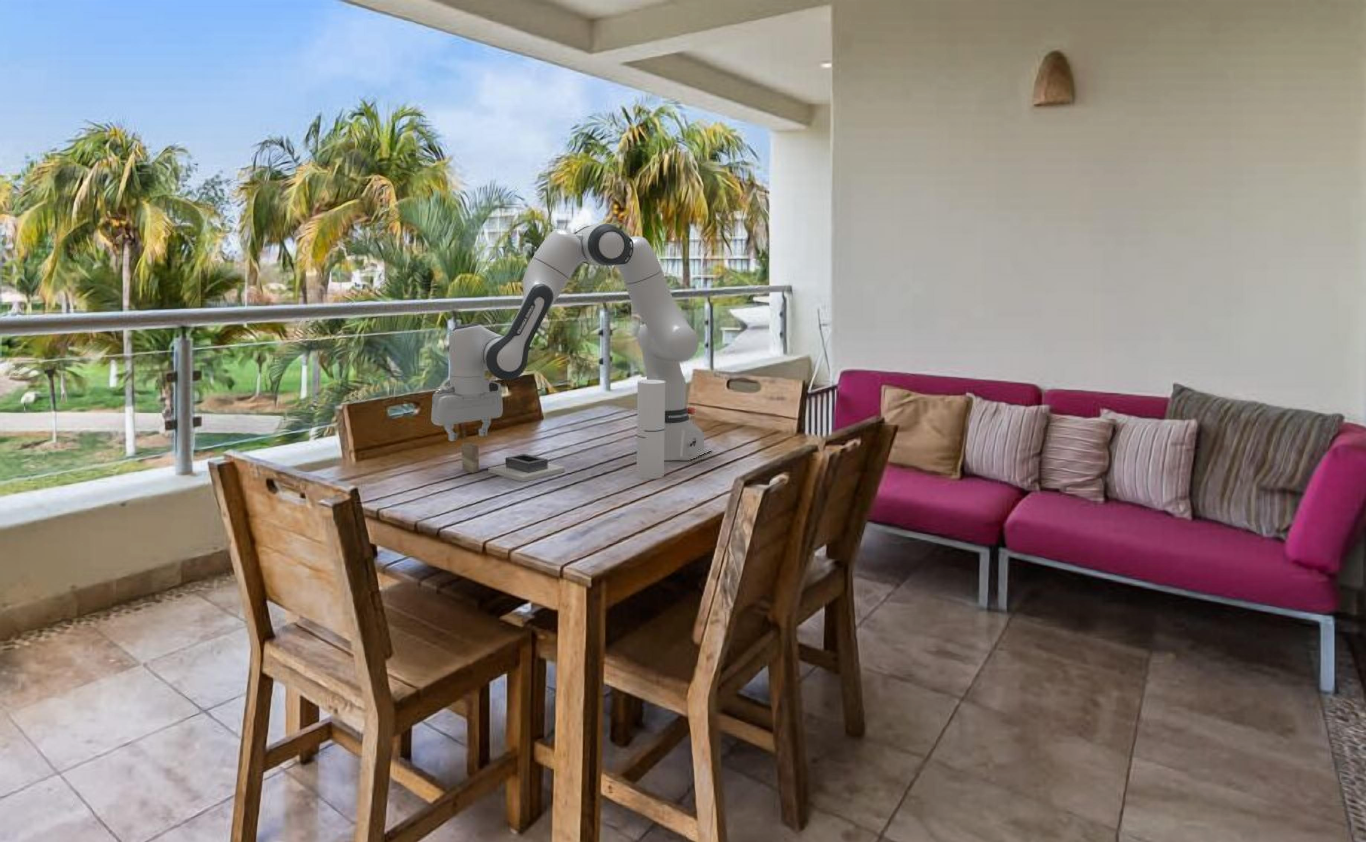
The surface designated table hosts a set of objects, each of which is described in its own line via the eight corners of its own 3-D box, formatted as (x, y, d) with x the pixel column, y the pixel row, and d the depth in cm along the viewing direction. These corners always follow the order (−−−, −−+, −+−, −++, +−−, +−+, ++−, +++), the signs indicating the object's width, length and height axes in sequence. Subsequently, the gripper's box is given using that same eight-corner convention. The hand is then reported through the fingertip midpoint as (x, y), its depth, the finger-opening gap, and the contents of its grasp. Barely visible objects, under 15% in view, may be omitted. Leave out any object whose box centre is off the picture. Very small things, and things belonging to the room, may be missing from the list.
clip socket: (524, 462, 220) (524, 453, 220) (547, 468, 215) (547, 459, 214) (505, 466, 216) (505, 457, 215) (528, 473, 210) (528, 463, 209)
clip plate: (530, 463, 225) (529, 458, 225) (564, 471, 216) (564, 467, 216) (488, 472, 214) (488, 467, 214) (523, 482, 206) (522, 477, 205)
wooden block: (468, 468, 218) (467, 442, 217) (479, 471, 215) (478, 445, 214) (462, 469, 217) (461, 444, 215) (472, 472, 214) (471, 446, 212)
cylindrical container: (660, 479, 210) (661, 384, 205) (633, 477, 212) (634, 382, 207) (666, 473, 217) (667, 380, 212) (640, 471, 218) (641, 379, 214)
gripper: (439, 391, 202) (441, 445, 204) (506, 384, 217) (506, 434, 220) (425, 388, 206) (426, 441, 208) (491, 381, 221) (491, 431, 224)
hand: (468, 438), depth 214 cm, fingers open, 8 cm apart
